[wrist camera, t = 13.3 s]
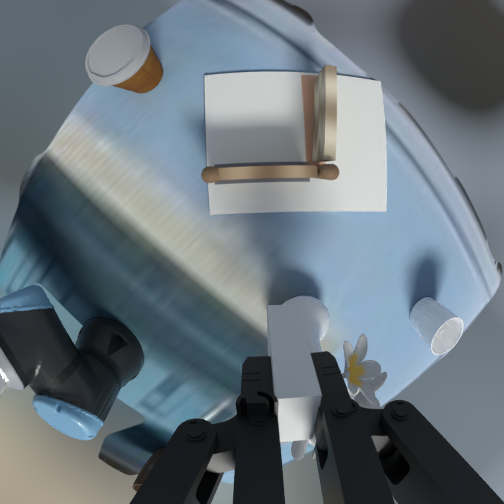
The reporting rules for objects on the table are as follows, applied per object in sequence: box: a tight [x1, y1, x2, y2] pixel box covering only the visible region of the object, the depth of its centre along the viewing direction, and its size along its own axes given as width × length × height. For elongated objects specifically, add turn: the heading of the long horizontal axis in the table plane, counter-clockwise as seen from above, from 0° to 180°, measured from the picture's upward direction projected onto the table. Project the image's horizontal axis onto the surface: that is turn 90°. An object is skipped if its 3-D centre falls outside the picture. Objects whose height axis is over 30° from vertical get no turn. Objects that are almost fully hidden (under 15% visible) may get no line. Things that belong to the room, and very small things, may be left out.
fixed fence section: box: [201, 164, 339, 183], centre depth 34 cm, size 16×2×8 cm, turn 92°
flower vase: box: [280, 296, 387, 460], centre depth 34 cm, size 13×18×25 cm
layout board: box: [205, 72, 387, 215], centre depth 37 cm, size 28×22×1 cm
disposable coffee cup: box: [85, 24, 163, 93], centre depth 29 cm, size 10×10×12 cm
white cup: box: [410, 297, 464, 355], centre depth 41 cm, size 8×8×10 cm
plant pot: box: [132, 448, 164, 492], centre depth 53 cm, size 15×15×16 cm
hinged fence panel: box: [312, 65, 337, 162], centre depth 32 cm, size 13×2×7 cm, turn 178°
